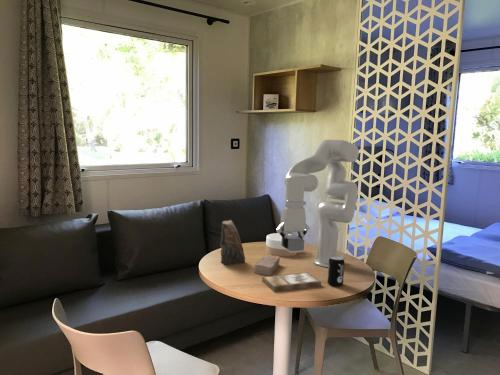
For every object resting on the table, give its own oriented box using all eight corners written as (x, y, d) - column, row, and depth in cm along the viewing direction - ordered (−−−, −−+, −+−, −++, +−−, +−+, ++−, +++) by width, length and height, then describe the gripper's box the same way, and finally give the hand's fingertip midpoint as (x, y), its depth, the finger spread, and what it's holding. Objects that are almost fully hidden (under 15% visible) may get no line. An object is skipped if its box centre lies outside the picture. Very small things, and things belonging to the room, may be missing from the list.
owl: (224, 266, 187) (225, 225, 185) (211, 259, 198) (212, 220, 195) (246, 262, 194) (247, 223, 192) (233, 255, 205) (234, 218, 202)
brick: (271, 276, 177) (271, 266, 176) (253, 273, 179) (253, 263, 179) (279, 265, 193) (280, 256, 192) (263, 263, 195) (263, 254, 195)
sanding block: (293, 245, 171) (294, 234, 170) (303, 251, 163) (304, 239, 162) (281, 246, 169) (281, 235, 168) (290, 252, 161) (291, 240, 160)
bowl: (281, 245, 228) (282, 231, 227) (303, 253, 215) (304, 238, 213) (259, 250, 217) (260, 235, 216) (281, 258, 204) (281, 242, 203)
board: (307, 276, 177) (307, 271, 177) (321, 286, 166) (321, 281, 166) (262, 281, 169) (262, 276, 169) (273, 291, 158) (273, 286, 158)
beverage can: (333, 288, 165) (335, 260, 163) (324, 282, 170) (325, 255, 169) (346, 286, 167) (347, 259, 166) (336, 280, 173) (338, 254, 172)
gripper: (307, 202, 170) (305, 243, 172) (271, 203, 164) (270, 245, 166) (316, 205, 163) (314, 247, 165) (279, 206, 157) (277, 250, 159)
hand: (292, 246), depth 166 cm, fingers closed on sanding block, 6 cm apart
